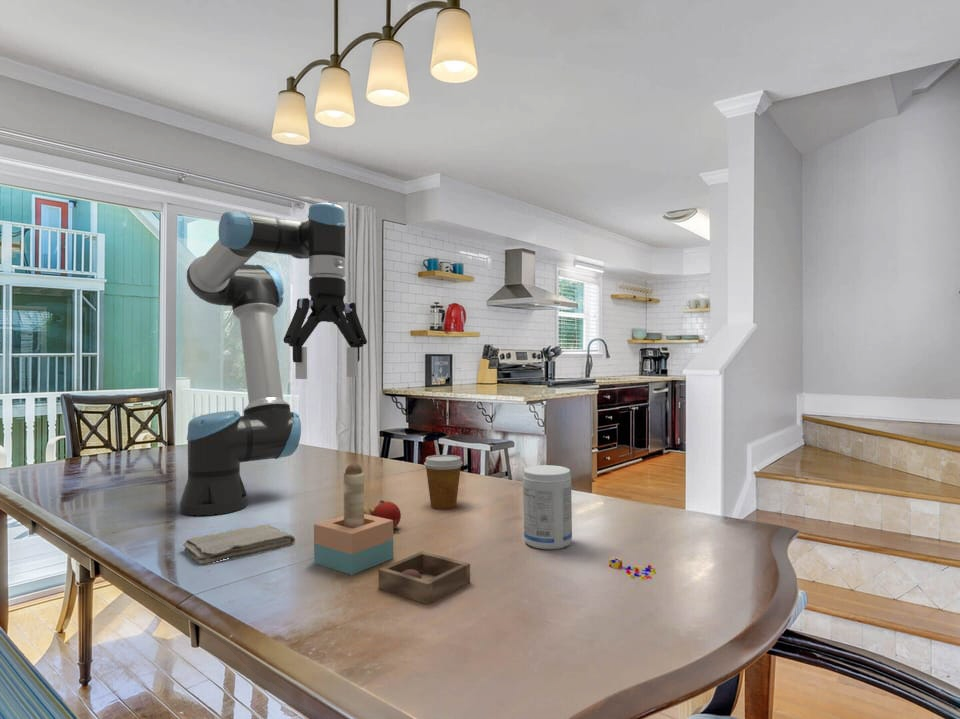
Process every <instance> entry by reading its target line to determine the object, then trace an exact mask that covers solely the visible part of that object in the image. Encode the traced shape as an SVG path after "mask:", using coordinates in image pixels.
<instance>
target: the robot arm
mask: <svg viewBox="0 0 960 719" xmlns="http://www.w3.org/2000/svg"><path fill="white" fill-rule="evenodd" d="M307 219H308V220H306V221H298V220H291V219H283V218H277V217H271V216H266V215H265V216H264V215H258V214H252V213H246V212H243V211H239V212H237V211H226V212H223V214H222V215H221V217H220V221H219V223H218V239H217V241H216V242H215V243H214V244H213V245H212V246H211V248H209V249H208V251H207V252H206V253H205V254H204V255H201V256H199V257H197V258H195V259H194V260H193V261H192V262H191V264H190V265H189V266H188V268H187V271H186V281H187V285H188V287H189V288H190V290H191V292H192V293H193V294H194V295H196V297H198V298H199V299H201V300H202V301H205V302H206V303H209V304H212V305H216V306H225V307H226V306H227V307H231V308H232V314H233V316H234V317H236V318H238V320H239V324H240V333H241V342H242V343H241V344H242V351H243V352H242V354H243V361H244V363H243V364H244V371H245V381H246V389H247V399H248V404H247V405H246V407H244V409H243V415H241V414H240V412H239V411H237V410H227V411H217V412H212V413H211V412H210V413H206V414H202V415H199V416H196V417H193V418H192V419H191V420H189V422H188V424H187V435H186V441H187V480H186V484H185V488H184V490H183V492H182V495H181V499H180V502H179V512H180V513H181V514H183V515H185V516H193V515H197V516H196V517H199V515H207V516H215V515H214V514H217V515H223V514H224V515H225V514H230V513H233V512H236V511H240V510H242V509H244V508H246V507H247V506H248V504H249V503H248V500H249V499H248V494H247V491H246V488H245V485H244V482H243V479H242V476H241V468H240V467H241V463H245V462H255V461H263V460H264V461H265V460H271V459H272V460H273V459H275V460H278V459H281V458H285V457H286V458H287V457H290V456H292V455H294V453H295V452H296V451H297V449H298V447H299V445H300V441H301V435H302V434H301V433H302V422H301V419H300V417H299V414H298V413H297V412H294V411H291V404H290V403H289V402H287V401H285V400H284V397H283V396H284V395H283V389H282V388H283V386H282V378H281V372H280V365H279V364H280V363H279V356H278V348H277V340H276V331H275V323H274V316H275V315H277V313H278V311H279V310H278V308H280V307H281V306H282V304H283V302H284V293H285V290H284V284H283V281H282V280H283V279H282V278H281V275H280V273H279V272H278V271H277V270H276V269H275V268H273V267H271V266H266V265H262V264H247V262H248V261H249V260H250V259H251V258H252V257H253V256H254V255H255V254H257V253H258V252H259V253H261V252H262V253H271V254H280V255H288V256H291V257H292V258H295V259H299V260H301V259H302V260H303V259H305V260H308V275H309V277H311V278H310V279H309V280H308V294H309V296H310V299H309V298H308V297H304V298H298V299H297V301H296V309H295V312H294V314H293V316H292V319H291V321H290V323H289V326H288V327H287V331H286V333H285V335H284V338H283V342H284V344H288V346H289V347H292V362H293V363H294V364H295V380H296V379H297V380H307V379H308V347H307V346H304V344H305V343H306V342H307V340H308V339H309V337H310V336H311V335H312V333H313V332H314V331H315V329H316V328H317V326H318V325H319V324H320V323H321V322H324V323H325V322H326V323H333V324H334V325H336V327H337V328H338V330H339V331H340V333H341V334H342V336H343V337H344V339H345V341H346V342H347V344H348V345H349V347H346V377H347V378H348V377H349V378H350V377H351V378H357V377H359V373H358V372H359V367H358V366H359V365H358V364H359V362H360V359H361V358H360V354H361V353H360V352H361V351H360V349H361V348H363V347H364V345H367V343H368V340H367V338H366V335H365V332H364V330H363V327H362V324H361V321H360V318H359V316H358V314H357V304H356V303H355V302H345V300H344V298H345V296H346V293H347V292H346V288H347V286H346V280H345V279H344V277H346V228H347V223H346V213H345V210H344V208H343V207H342V206H341V205H338V204H335V203H330V202H317V203H312V204H311V205H310V206H309V208H308V215H307ZM309 310H311V313H309V315H308V312H309ZM307 316H308V317H307ZM306 319H307V320H306ZM305 320H306V321H305Z"/></svg>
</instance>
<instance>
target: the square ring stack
mask: <svg viewBox="0 0 960 719" xmlns="http://www.w3.org/2000/svg"><path fill="white" fill-rule="evenodd" d="M313 552H314V553H313V559H314V560H313V562H314V564H317V565H320V566H323V567H325V568H329V569H332V570H336V571H338V572H342V573H345V574H347V575H351V576H353V575H356V574H358V573H360V572H362V571H365V570H367V569H368V570H369V569H370V568H373V567H375V566H377V565H379V564H382V563H385V562H387V561H389V560H392V559H394V529H393V520H390V519H385V518H381V517H377V516H372V515H368V514H364V525H362V526H359V527H356V528H353V529H352V528H348V527H345V526H344V515H341V516H338V517H333V518H331V519H326V520H323V521H320V522H316V523H314V524H313Z"/></svg>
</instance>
